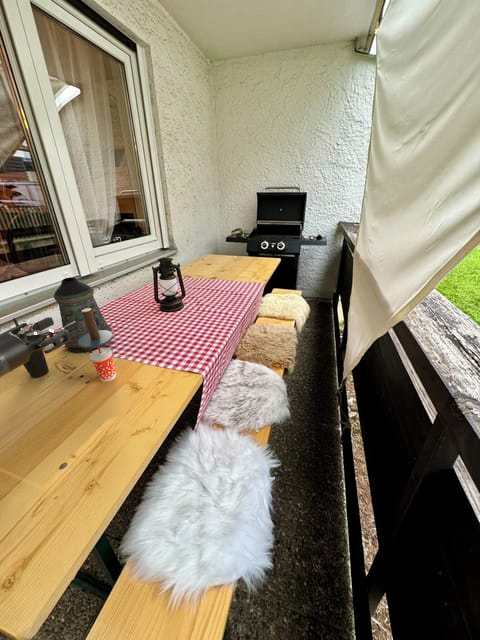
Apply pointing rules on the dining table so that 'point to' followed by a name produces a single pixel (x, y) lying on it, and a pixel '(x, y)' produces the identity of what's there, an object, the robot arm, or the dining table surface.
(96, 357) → the beverage cup
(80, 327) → the beer stein
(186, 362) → the dining table surface
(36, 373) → the drinking cup
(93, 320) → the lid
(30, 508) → the dining table surface
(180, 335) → the dining table surface
